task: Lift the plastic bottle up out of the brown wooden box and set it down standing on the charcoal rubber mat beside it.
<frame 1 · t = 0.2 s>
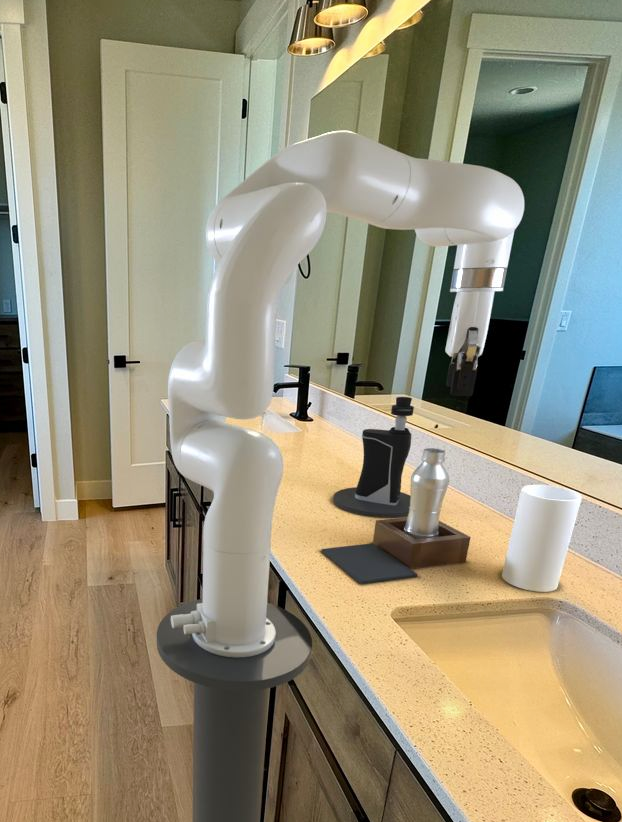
hand: (458, 391, 97), 31 cm above the worktop, tool pointing down, fingers open, 9 cm apart
brown wooden box: (417, 552, 110), on the worktop
cup: (528, 581, 98), on the worktop
mat: (366, 563, 105), on the worktop
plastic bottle: (417, 553, 110), resting in brown wooden box
vape: (374, 504, 136), on the worktop
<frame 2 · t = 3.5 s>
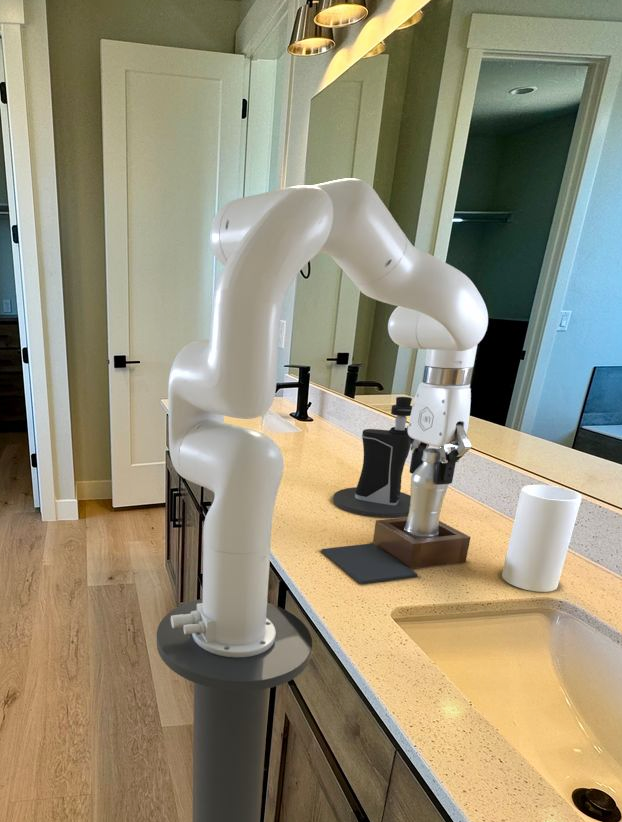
hand: (430, 477, 104), 15 cm above the worktop, tool pointing down, fingers closed on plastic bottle, 6 cm apart
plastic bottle: (417, 553, 110), resting in brown wooden box, touching gripper
everything else where it was.
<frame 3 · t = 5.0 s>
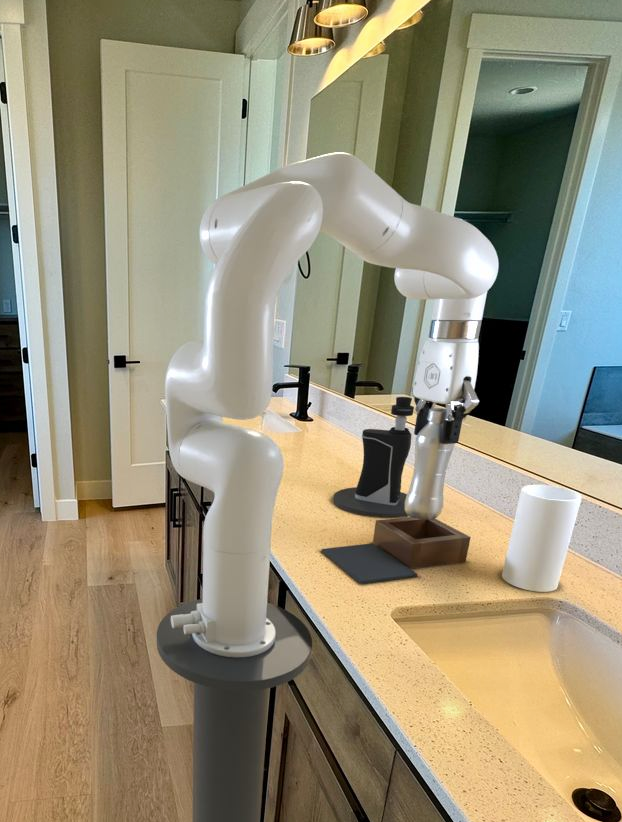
hand: (435, 438, 101), 22 cm above the worktop, tool pointing down, fingers closed on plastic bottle, 6 cm apart
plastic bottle: (421, 518, 107), point 7 cm above the worktop, touching gripper
everything else where it was.
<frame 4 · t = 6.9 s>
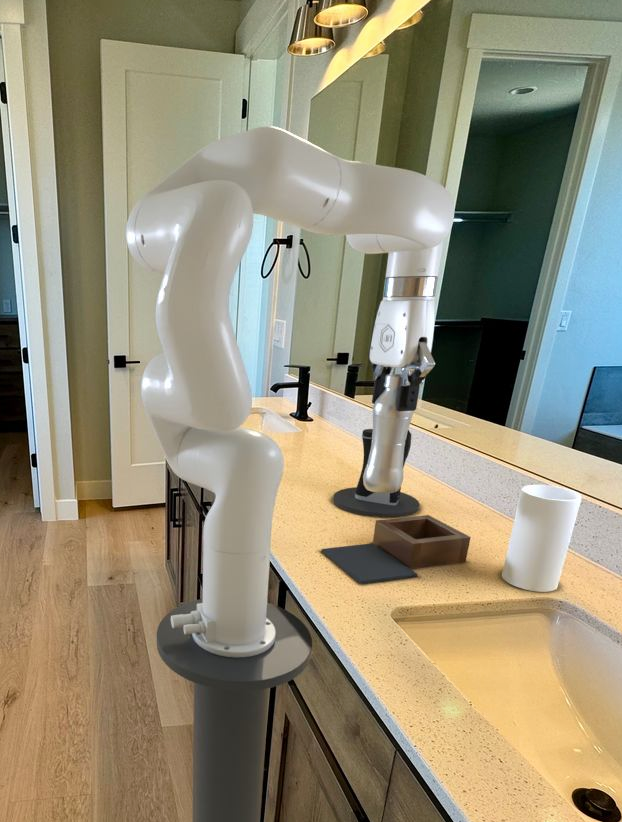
hand: (393, 406, 95), 29 cm above the worktop, tool pointing down, fingers closed on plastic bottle, 6 cm apart
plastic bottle: (381, 492, 101), point 14 cm above the worktop, touching gripper
everything else where it was.
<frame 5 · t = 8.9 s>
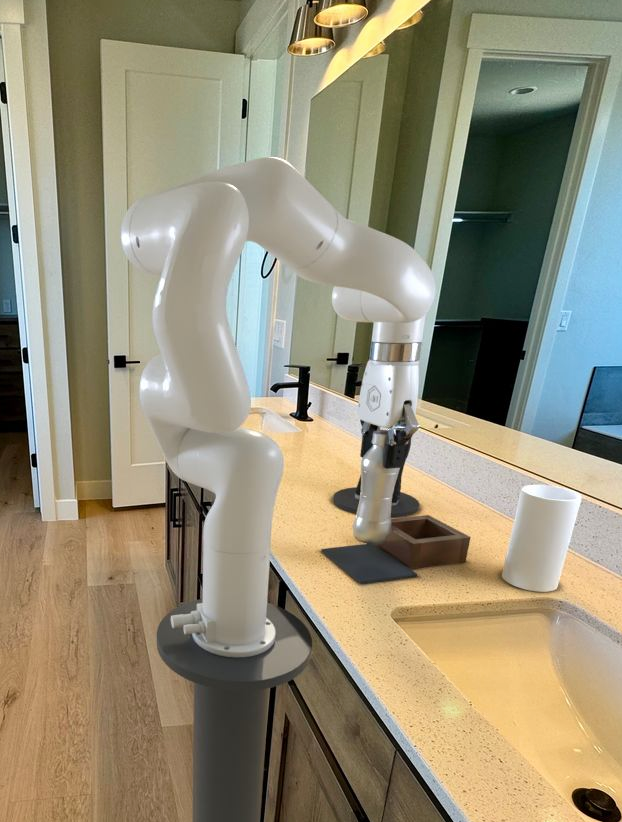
hand: (380, 461, 98), 19 cm above the worktop, tool pointing down, fingers closed on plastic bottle, 6 cm apart
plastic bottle: (369, 542, 104), point 4 cm above the worktop, touching gripper
everything else where it was.
when the fingers open (16 cm above the worktop, at t = 10.4 s): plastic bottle stays where it is, resting on mat.
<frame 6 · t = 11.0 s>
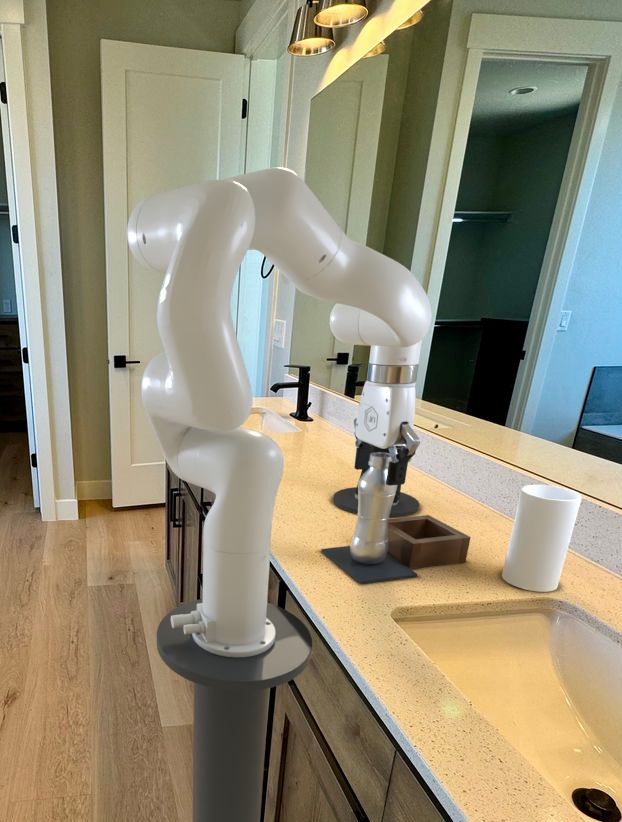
hand: (378, 476, 99), 17 cm above the worktop, tool pointing down, fingers open, 9 cm apart
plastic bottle: (367, 561, 105), resting on mat
everything else where it was.
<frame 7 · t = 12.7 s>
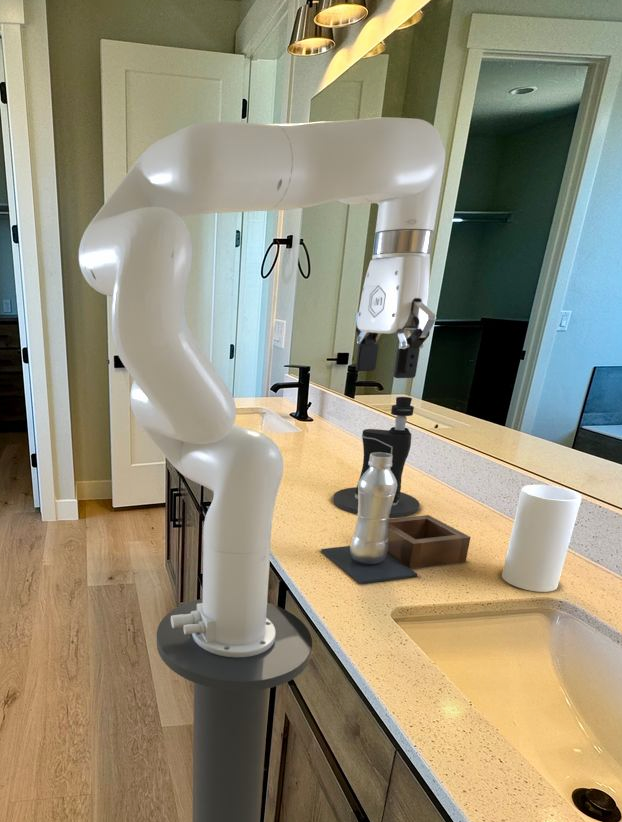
hand: (383, 374, 86), 35 cm above the worktop, tool pointing down, fingers open, 9 cm apart
nothing on the worktop moved.
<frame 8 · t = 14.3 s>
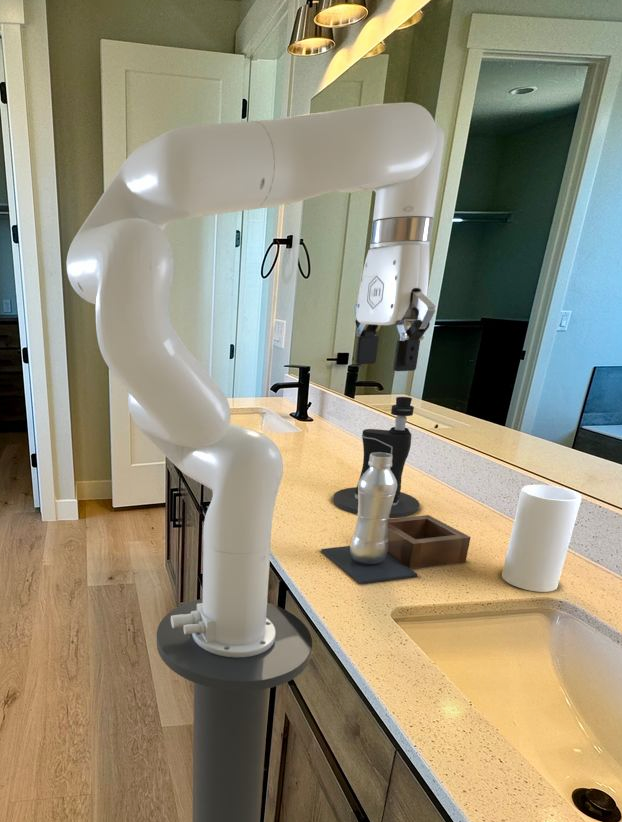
hand: (383, 366, 83), 36 cm above the worktop, tool pointing down, fingers open, 9 cm apart
nothing on the worktop moved.
at the end: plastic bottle inside the target area on the mat (0.1 cm from its centre), point 0.4 cm above the mat's base; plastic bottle tilted 0°; the gripper is holding nothing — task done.
